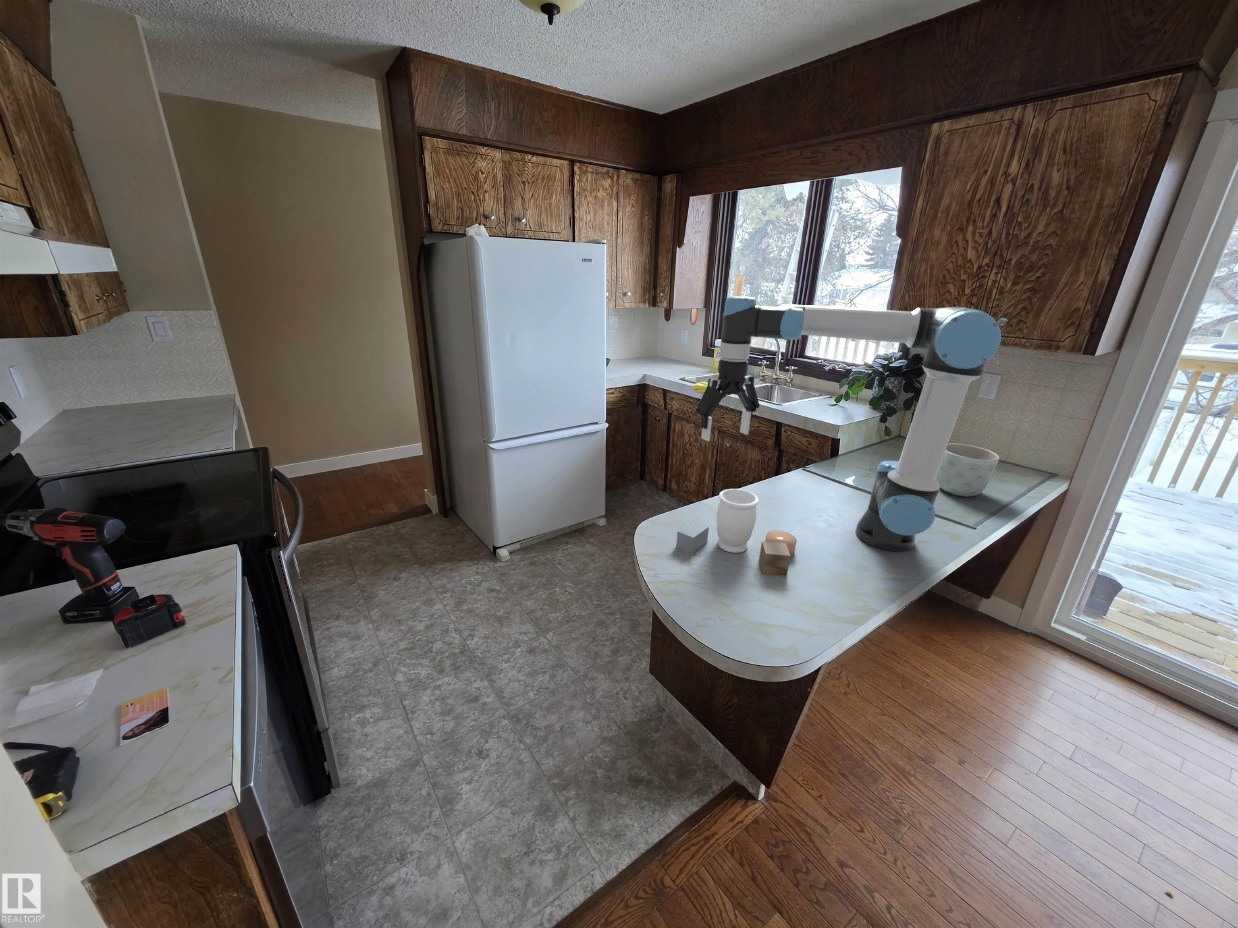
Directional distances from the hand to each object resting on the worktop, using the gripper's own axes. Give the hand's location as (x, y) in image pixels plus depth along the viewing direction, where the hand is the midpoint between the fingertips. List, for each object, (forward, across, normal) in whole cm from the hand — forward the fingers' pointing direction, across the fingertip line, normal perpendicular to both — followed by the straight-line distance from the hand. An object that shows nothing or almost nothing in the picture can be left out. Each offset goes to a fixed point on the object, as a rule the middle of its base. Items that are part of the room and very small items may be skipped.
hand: (725, 436), depth 138 cm
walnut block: (+28, +1, +24) cm, 37 cm away
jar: (+28, +3, +11) cm, 30 cm away
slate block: (+28, +13, +6) cm, 31 cm away
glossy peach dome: (+28, -7, +18) cm, 35 cm away
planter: (+29, -96, +17) cm, 101 cm away
